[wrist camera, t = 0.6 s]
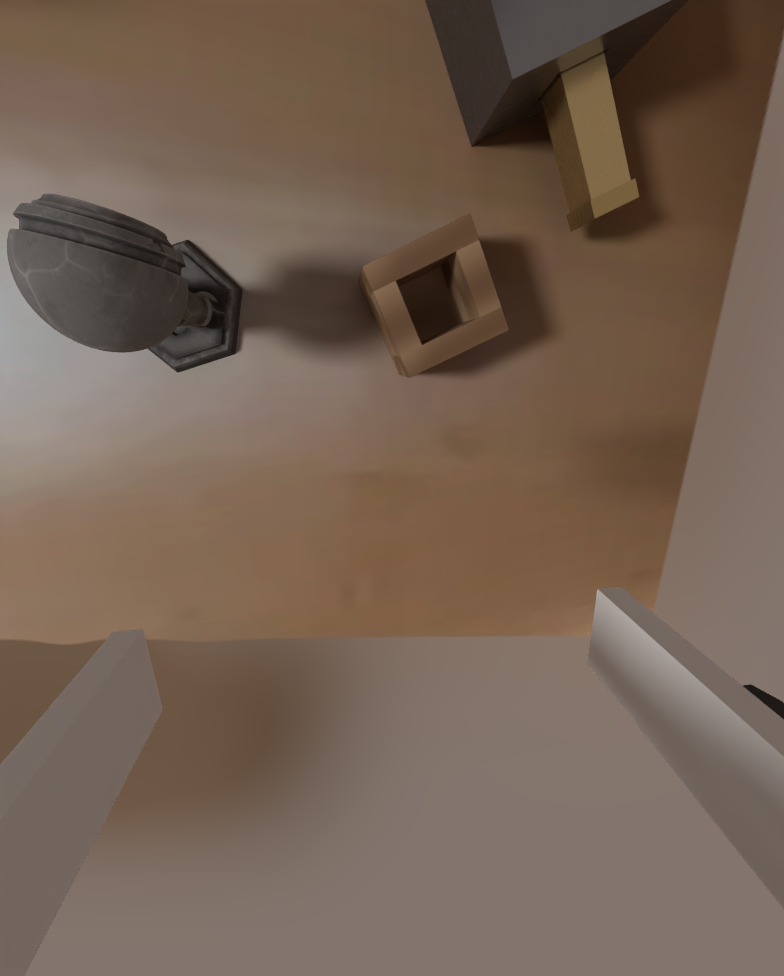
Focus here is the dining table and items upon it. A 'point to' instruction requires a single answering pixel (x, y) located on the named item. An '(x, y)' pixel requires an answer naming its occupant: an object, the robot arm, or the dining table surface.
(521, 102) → the socket
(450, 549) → the dining table surface
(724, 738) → the robot arm
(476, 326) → the open box
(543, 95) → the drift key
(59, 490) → the dining table surface
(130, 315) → the figurine
